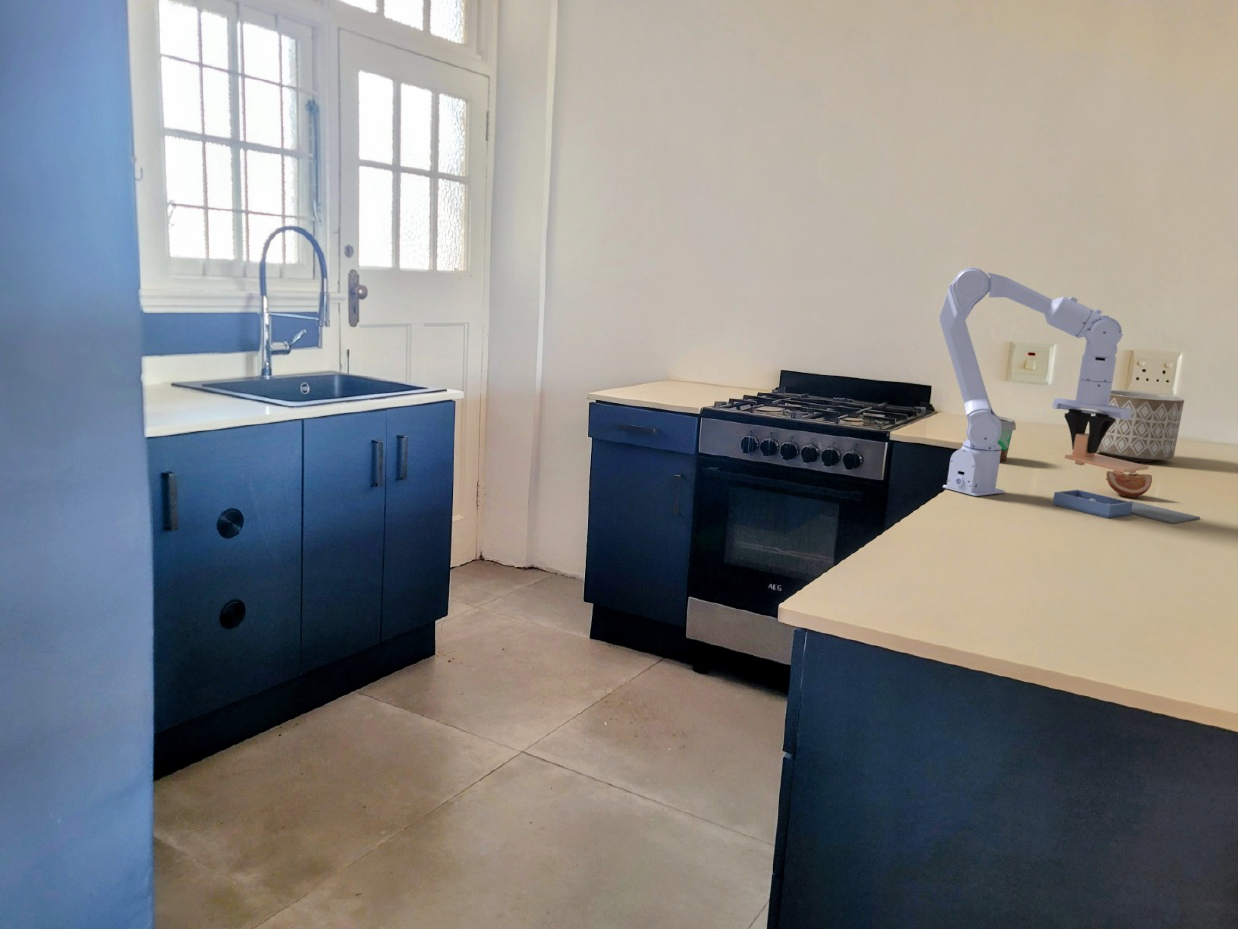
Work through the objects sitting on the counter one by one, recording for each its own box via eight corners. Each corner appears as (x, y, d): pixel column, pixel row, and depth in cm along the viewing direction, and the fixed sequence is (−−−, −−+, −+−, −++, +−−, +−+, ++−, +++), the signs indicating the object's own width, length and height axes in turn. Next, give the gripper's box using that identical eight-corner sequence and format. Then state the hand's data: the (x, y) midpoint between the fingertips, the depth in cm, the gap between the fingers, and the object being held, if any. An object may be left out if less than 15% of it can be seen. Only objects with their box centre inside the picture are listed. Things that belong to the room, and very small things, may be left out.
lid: (1122, 477, 170) (1128, 447, 169) (1063, 462, 179) (1068, 434, 178) (1147, 473, 174) (1153, 445, 173) (1088, 459, 184) (1093, 432, 183)
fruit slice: (1105, 496, 192) (1109, 472, 191) (1100, 490, 198) (1104, 467, 197) (1151, 501, 190) (1155, 477, 189) (1144, 495, 196) (1148, 471, 195)
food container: (1015, 465, 221) (1022, 423, 219) (988, 462, 222) (994, 421, 220) (1005, 456, 233) (1011, 416, 231) (979, 454, 234) (985, 414, 232)
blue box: (1108, 518, 172) (1110, 505, 171) (1052, 504, 181) (1054, 492, 180) (1130, 514, 176) (1132, 502, 175) (1075, 501, 185) (1077, 489, 184)
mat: (1172, 523, 171) (1172, 521, 171) (1103, 506, 181) (1103, 504, 181) (1199, 518, 176) (1199, 516, 176) (1131, 502, 187) (1131, 500, 187)
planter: (1091, 458, 238) (1102, 394, 235) (1086, 447, 256) (1095, 387, 253) (1178, 468, 231) (1190, 402, 228) (1166, 457, 249) (1177, 395, 246)
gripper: (1145, 385, 174) (1133, 457, 176) (1071, 375, 186) (1061, 443, 188) (1124, 385, 170) (1112, 459, 172) (1050, 376, 182) (1040, 445, 184)
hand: (1084, 451), depth 180 cm, fingers closed on lid, 2 cm apart
